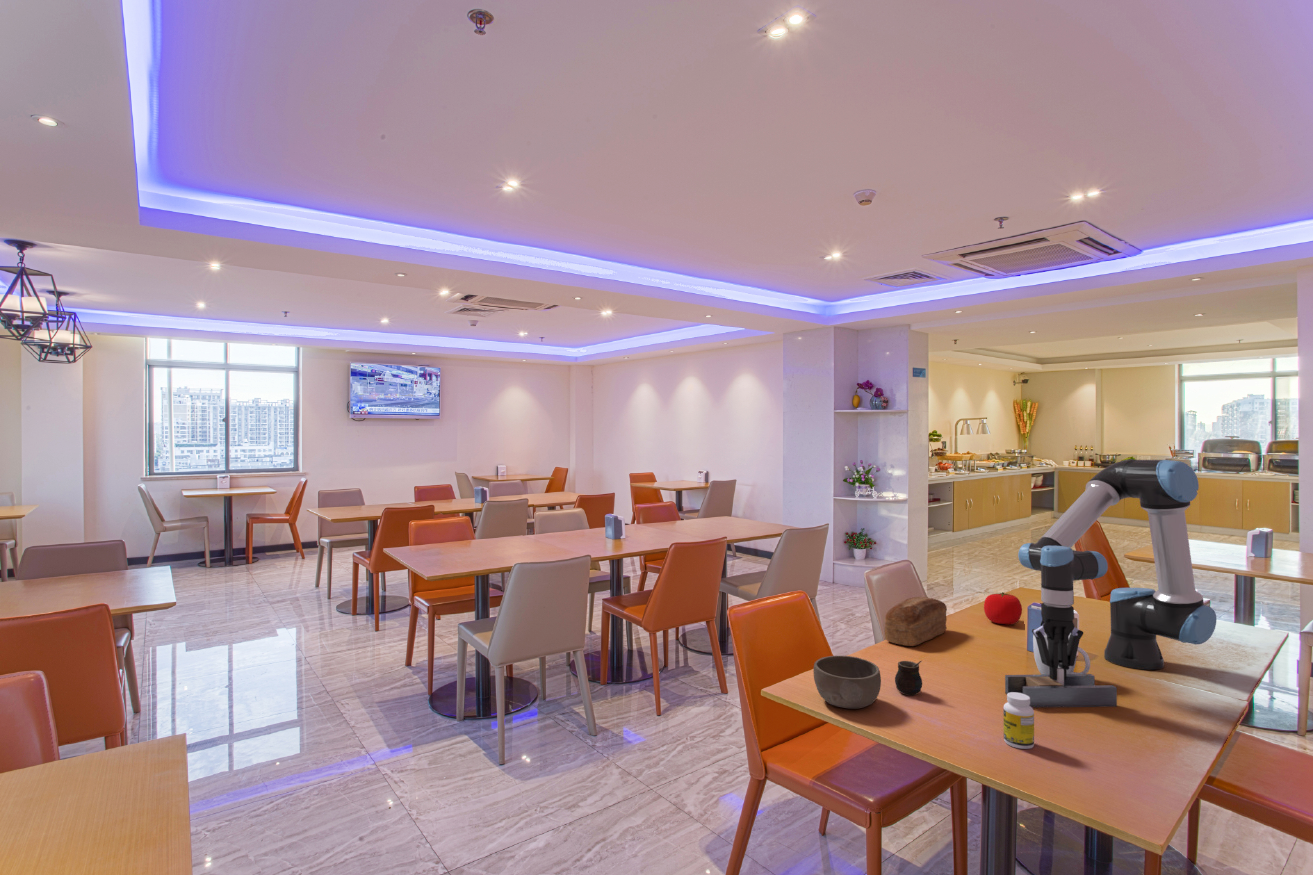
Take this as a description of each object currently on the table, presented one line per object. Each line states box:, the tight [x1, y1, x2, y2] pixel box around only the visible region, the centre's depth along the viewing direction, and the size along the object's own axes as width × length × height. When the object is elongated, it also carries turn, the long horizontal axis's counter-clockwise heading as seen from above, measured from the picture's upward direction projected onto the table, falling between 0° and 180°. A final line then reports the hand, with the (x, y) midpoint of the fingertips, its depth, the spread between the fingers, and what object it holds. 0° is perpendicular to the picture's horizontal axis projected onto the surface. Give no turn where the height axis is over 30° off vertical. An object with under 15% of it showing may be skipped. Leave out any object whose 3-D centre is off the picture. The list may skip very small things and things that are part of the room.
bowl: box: [812, 655, 882, 710], centre depth 176 cm, size 17×18×10 cm
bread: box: [884, 596, 948, 647], centre depth 234 cm, size 12×31×14 cm, turn 133°
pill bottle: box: [1003, 692, 1035, 750], centre depth 151 cm, size 6×6×11 cm
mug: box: [1032, 627, 1091, 675], centre depth 192 cm, size 15×11×13 cm
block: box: [1026, 677, 1063, 686], centre depth 176 cm, size 6×6×4 cm
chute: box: [1004, 673, 1118, 709], centre depth 177 cm, size 24×10×5 cm, turn 91°
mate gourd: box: [894, 660, 923, 696], centre depth 182 cm, size 7×8×10 cm
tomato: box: [983, 592, 1023, 626], centre depth 251 cm, size 13×14×12 cm
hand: (1058, 691), depth 176 cm, fingers closed
